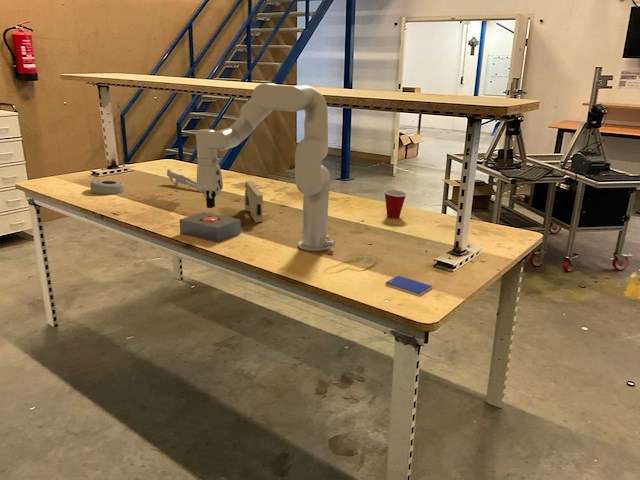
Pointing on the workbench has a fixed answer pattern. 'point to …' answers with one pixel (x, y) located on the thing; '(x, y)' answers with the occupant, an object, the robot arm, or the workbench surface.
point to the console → (210, 227)
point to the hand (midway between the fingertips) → (210, 207)
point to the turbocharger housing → (106, 187)
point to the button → (210, 219)
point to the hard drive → (408, 285)
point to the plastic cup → (394, 202)
